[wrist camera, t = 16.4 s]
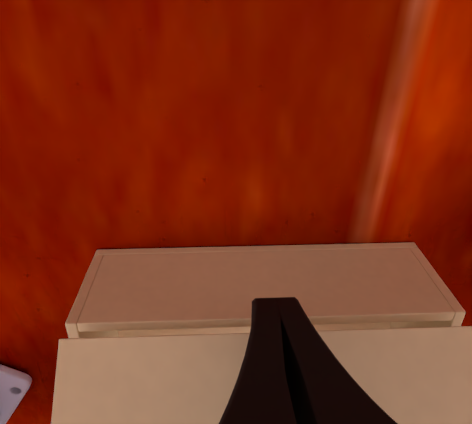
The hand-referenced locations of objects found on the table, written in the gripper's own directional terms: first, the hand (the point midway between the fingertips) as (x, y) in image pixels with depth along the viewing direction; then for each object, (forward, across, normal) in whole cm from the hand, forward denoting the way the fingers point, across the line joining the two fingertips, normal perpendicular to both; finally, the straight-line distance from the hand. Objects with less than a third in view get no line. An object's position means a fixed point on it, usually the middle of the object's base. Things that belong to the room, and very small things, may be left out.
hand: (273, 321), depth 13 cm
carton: (+5, 0, +6) cm, 8 cm away
